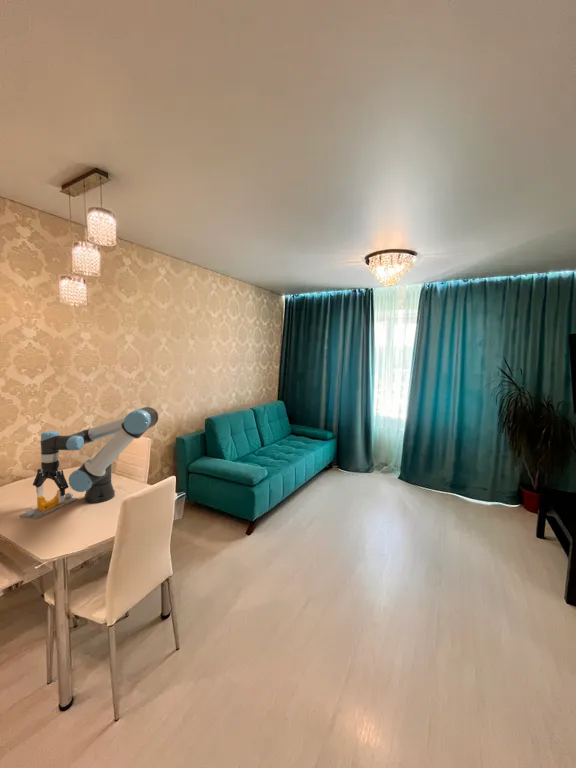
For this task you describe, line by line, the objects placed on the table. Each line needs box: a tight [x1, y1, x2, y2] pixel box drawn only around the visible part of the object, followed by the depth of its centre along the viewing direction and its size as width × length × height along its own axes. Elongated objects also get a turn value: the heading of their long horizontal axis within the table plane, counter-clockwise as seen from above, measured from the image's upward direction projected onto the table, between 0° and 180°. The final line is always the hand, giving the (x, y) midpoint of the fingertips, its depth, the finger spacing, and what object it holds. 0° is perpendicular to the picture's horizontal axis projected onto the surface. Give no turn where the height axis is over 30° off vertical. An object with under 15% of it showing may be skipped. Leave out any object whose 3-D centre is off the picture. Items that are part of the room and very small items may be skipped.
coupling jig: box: [19, 491, 79, 520], centre depth 170 cm, size 10×24×4 cm, turn 168°
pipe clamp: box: [36, 489, 64, 511], centre depth 171 cm, size 12×4×6 cm, turn 159°
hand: (50, 500), depth 170 cm, fingers open, 13 cm apart
